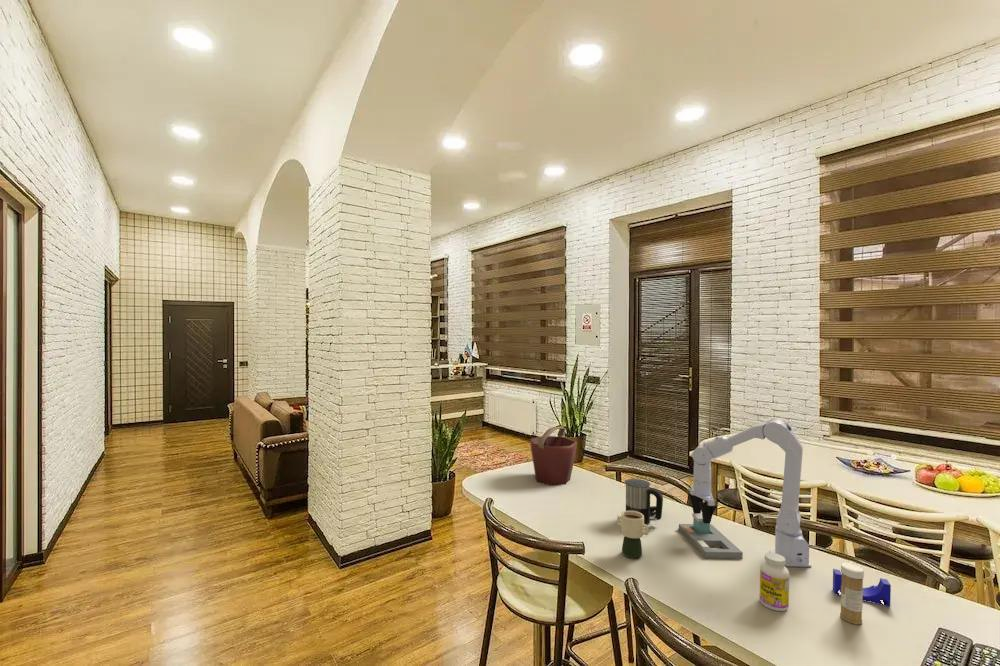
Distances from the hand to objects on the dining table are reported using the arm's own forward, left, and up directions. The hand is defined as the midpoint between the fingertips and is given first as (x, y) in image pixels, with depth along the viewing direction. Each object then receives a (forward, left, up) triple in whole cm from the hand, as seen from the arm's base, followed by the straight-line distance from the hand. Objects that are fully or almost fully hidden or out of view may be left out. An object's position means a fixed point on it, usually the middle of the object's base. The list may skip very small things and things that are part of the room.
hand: (701, 518), depth 161 cm
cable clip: (-36, -28, -7) cm, 46 cm away
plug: (0, 0, -6) cm, 6 cm away
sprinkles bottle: (-46, -17, -6) cm, 50 cm away
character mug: (-14, +29, -6) cm, 33 cm away
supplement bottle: (-40, -1, -6) cm, 41 cm away
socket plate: (-5, 0, -6) cm, 8 cm away
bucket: (+59, +45, -6) cm, 74 cm away
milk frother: (+15, +16, -6) cm, 23 cm away
